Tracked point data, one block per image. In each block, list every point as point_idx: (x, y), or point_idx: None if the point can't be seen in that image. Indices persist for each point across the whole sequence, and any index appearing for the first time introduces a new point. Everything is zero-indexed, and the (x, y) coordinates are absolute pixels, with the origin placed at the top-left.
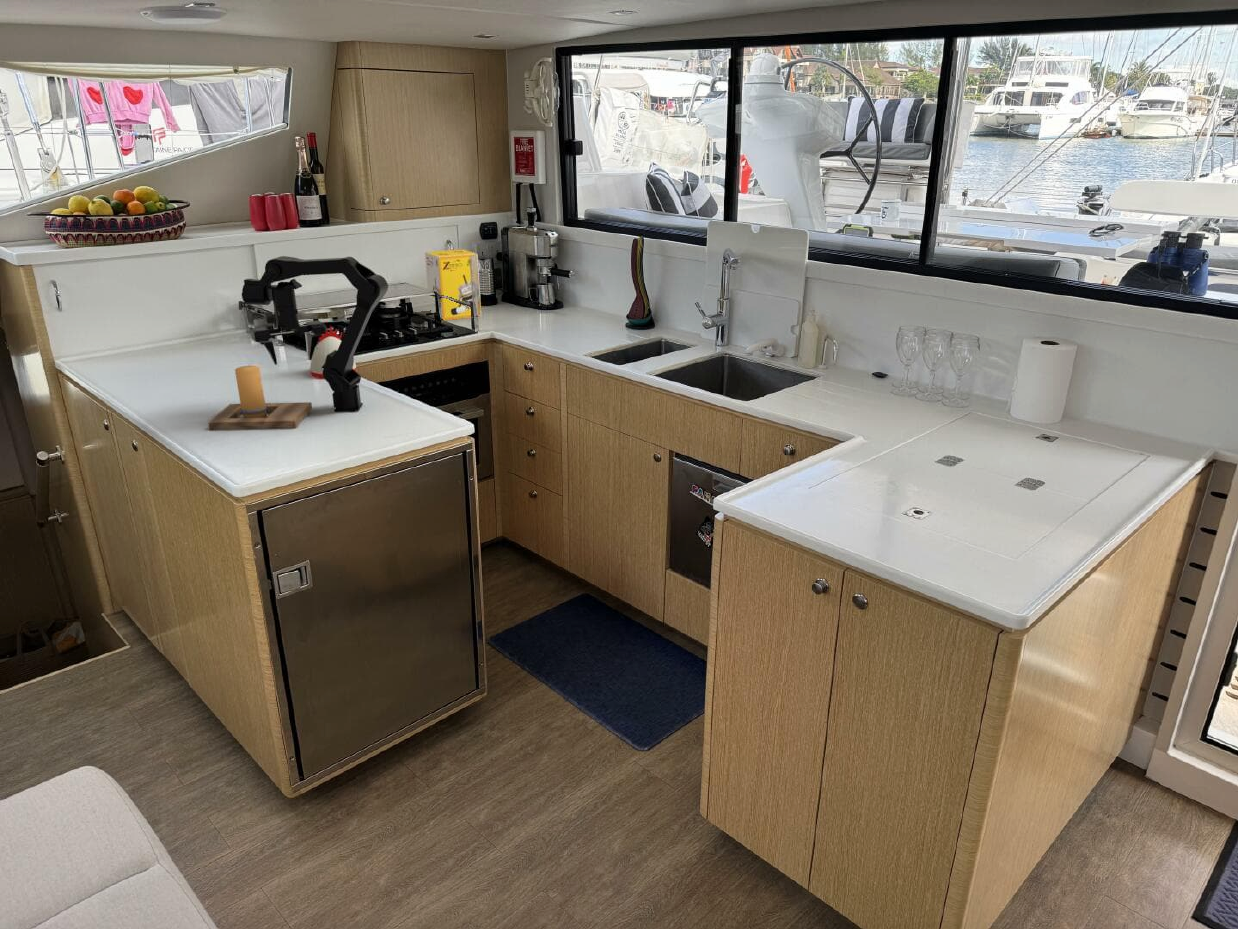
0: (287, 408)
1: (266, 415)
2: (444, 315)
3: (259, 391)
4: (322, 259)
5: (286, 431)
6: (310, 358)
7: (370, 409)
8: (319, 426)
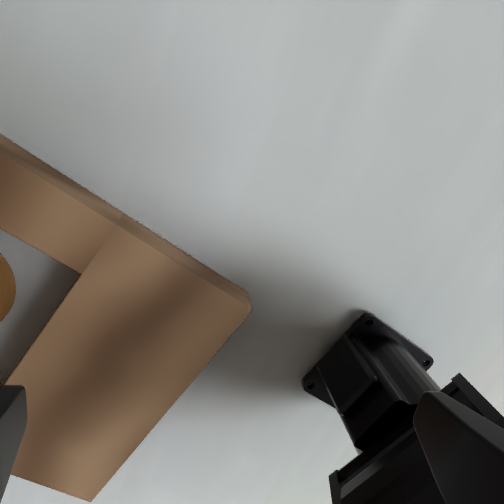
0: (113, 337)
1: (1, 320)
2: None
3: None
4: None
5: None
6: (423, 442)
7: None
8: (180, 491)
